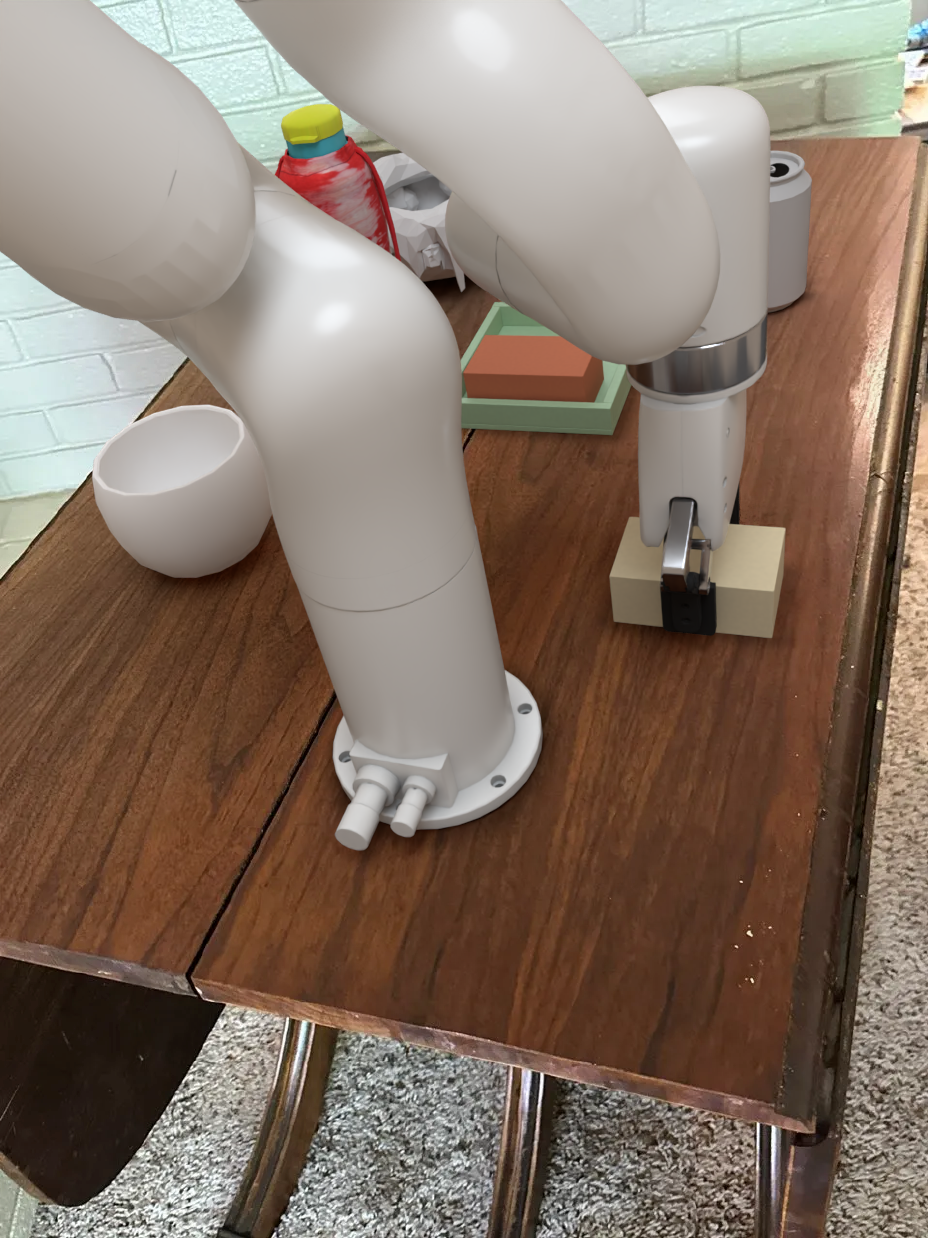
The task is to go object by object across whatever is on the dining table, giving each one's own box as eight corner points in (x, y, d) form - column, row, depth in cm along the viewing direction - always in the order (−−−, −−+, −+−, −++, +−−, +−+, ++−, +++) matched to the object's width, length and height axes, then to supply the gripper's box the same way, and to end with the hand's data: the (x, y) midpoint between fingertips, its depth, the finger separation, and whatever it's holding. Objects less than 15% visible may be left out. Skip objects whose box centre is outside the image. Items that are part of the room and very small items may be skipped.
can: (806, 315, 94) (814, 177, 86) (717, 319, 96) (717, 185, 88) (804, 274, 99) (811, 140, 91) (720, 279, 101) (720, 149, 93)
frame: (612, 435, 86) (610, 408, 84) (440, 427, 90) (435, 401, 89) (653, 328, 96) (652, 302, 95) (498, 326, 101) (494, 301, 100)
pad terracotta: (587, 419, 87) (583, 376, 84) (470, 414, 90) (462, 372, 87) (604, 379, 91) (600, 336, 88) (491, 375, 94) (484, 334, 91)
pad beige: (772, 638, 67) (774, 591, 64) (613, 622, 70) (609, 576, 68) (783, 574, 71) (785, 527, 68) (632, 561, 74) (629, 516, 72)
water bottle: (289, 435, 93) (192, 140, 77) (318, 384, 99) (234, 99, 82) (421, 434, 90) (351, 126, 73) (444, 382, 96) (383, 84, 79)
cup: (121, 538, 86) (72, 437, 80) (266, 483, 89) (230, 381, 82) (149, 629, 78) (97, 524, 71) (310, 565, 80) (273, 458, 73)
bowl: (307, 285, 114) (280, 192, 108) (449, 209, 123) (433, 117, 116) (434, 338, 102) (413, 235, 95) (583, 248, 110) (573, 149, 103)
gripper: (656, 265, 65) (669, 491, 77) (589, 433, 54) (616, 668, 65) (785, 263, 62) (779, 497, 74) (743, 439, 51) (743, 683, 63)
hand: (702, 577), depth 70 cm, fingers open, 9 cm apart
